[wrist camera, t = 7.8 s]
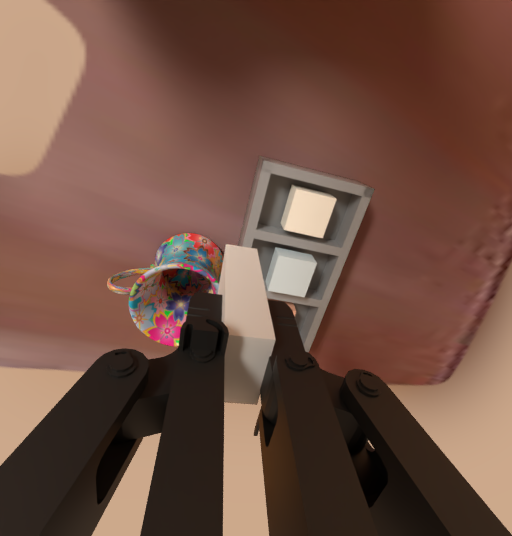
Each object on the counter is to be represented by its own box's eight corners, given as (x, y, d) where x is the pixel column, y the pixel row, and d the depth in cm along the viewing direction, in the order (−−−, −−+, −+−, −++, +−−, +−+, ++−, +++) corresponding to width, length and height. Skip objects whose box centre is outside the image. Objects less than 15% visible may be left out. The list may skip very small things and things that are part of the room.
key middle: (275, 247, 35) (278, 255, 33) (311, 254, 36) (317, 263, 34) (265, 280, 37) (267, 290, 35) (300, 287, 38) (304, 297, 35)
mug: (235, 236, 38) (237, 275, 28) (220, 299, 42) (217, 353, 32) (133, 214, 36) (99, 249, 26) (127, 283, 39) (95, 336, 30)
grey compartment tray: (259, 155, 34) (263, 160, 30) (358, 181, 36) (374, 189, 32) (220, 318, 43) (219, 339, 39) (301, 331, 45) (308, 352, 41)
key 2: (291, 184, 33) (296, 189, 31) (329, 193, 34) (336, 198, 32) (280, 223, 35) (283, 229, 33) (316, 231, 36) (322, 238, 33)
